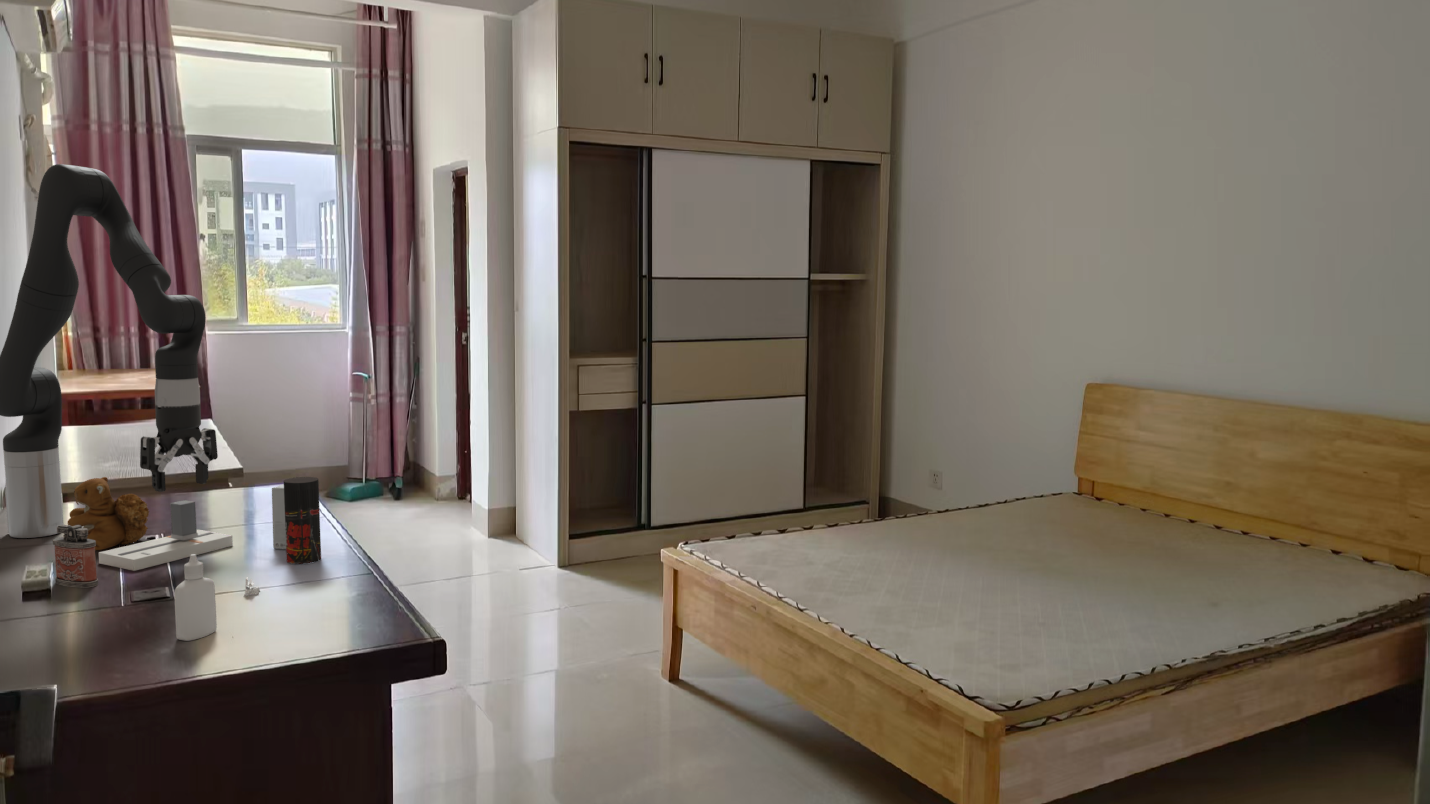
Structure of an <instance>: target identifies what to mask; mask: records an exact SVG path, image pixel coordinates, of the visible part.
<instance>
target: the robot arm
mask: <svg viewBox="0 0 1430 804" xmlns="http://www.w3.org/2000/svg"><path fill="white" fill-rule="evenodd" d="M39 185H40V186H39V190H38V197H37V205H36V211H35V219H34V227H33V231H32V232H33V234H32V239H31V243H30V247H29V248H30V249H29V252H28V257H27V261H26V265H25V268H24V272H23V274H22V278H21V281H20V285H19V290H18V292H17V296H16V297H17V298H16V301H15V302H16V303H15V308H14V312H13V314H12V318H11V320H10V321H11V322H10V325H9V329H8V333H7V335H6V339H5V341H4V345H3V347H2V350H1V351H0V416H1V417H4V418H5V417H7V418H15V417H22V420H21V422H20V423H19V425H18V426H17V427H16V428H14V430H12V431H10V432H9V433H7V434H5V435H4V437H3V438H2V450H3V461H4V462H3V464H4V475H5V476H4V477H5V478H4V479H5V487H4V493H5V495H4V496H5V509H6V510H5V511H6V523H7V524H6V525H7V533H8V534H9V535H8V536H9V537H10V538H16V539H17V538H18V539H27V538H28V539H30V538H32V539H33V538H41V537H49V536H52V535H56V534H58V533H57V527H58V525H65V524H64V510H63V496H62V495H63V494H62V478H61V466H60V465H61V463H60V462H61V461H60V448H59V439H60V436H61V434H62V429H63V427H62V425H63V424H62V423H63V421H62V420H63V418H62V416H63V415H62V411H63V408H62V407H63V406H62V402H63V401H62V388H61V385H60V382H59V379H58V378H57V376H56V374H55V372H54V371H52V370H50V369H49V368H46V367H35V366H36V363H37V360H38V358H39V356H40V354H41V353H42V351H43V350H44V349H45V348H46V346H47V345H48V344H49V343H50V341H52V339H53V338H55V336H56V335H57V334H58V333H59V332H60V330H62V328H63V327H64V326H65V325H66V323H67V322H68V320H69V319H70V317H71V315H72V313H73V310H74V306H75V302H76V299H77V296H78V292H79V285H80V282H79V275H78V271H77V269H76V266H75V263H74V261H73V258H72V256H71V254H70V253H71V252H70V250H69V247H68V236H69V231H70V230H69V229H70V225H71V222H72V219H73V216H79V217H90V218H91V217H92V218H93V219H94V220H95V221H97V222H98V224H99V225H100V226H101V227H102V228H103V229H104V230H105V232H106V233H107V235H108V240H109V256H110V260H111V263H112V266H113V268H114V269H115V271H116V272H117V273H118V275H119V276H120V278H121V279H122V280H123V282H124V283H125V284H126V285H127V287H128V288H129V290H130V291H131V292H132V295H133V297H134V301H135V303H136V306H137V308H138V309H137V310H138V312H139V315H140V317H141V320H142V322H143V323H144V324H145V325H146V326H147V327H148V328H149V329H150V330H151V331H153V332H154V333H158V334H164V335H165V334H166V335H167V334H172V337H171V340H170V343H168V344H167V345H164V346H161V347H159V348H158V349H157V350H156V351H155V354H154V365H155V366H154V370H155V384H154V385H155V387H154V407H155V408H154V409H155V410H154V411H155V426H156V428H157V435H155V436H141V438H140V447H139V448H140V449H139V450H140V451H139V452H140V453H139V455H140V456H139V458H140V460H139V461H140V462H139V467H140V469H141V470H142V469H143V470H148V471H150V472H151V486H152V489H154V491H156V492H159V493H162V492H163V493H164V492H165V491H166V488H167V487H166V472H165V471H164V470H165V468H166V467H167V465H168V464H169V463H170V462H171V461H172V460H174V459H173V458H178V457H181V456H190V457H192V458H193V460H194V461H195V462H196V464H195V465H194V466H195V468H194V469H195V482H196V484H199V485H205V484H207V482H208V480H209V463H210V462H211V461H213V460H217V459H218V456H219V455H218V454H219V453H218V444H217V433H216V430H215V429H214V428H213V429H212V428H206V427H205V428H202V429H200V426H201V425H202V416H201V415H202V413H201V412H202V411H201V389H200V383H199V369H198V355H199V351H200V348H201V343H202V341H203V336H204V331H205V326H206V319H207V317H206V316H207V315H206V311H205V307H204V304H203V303H202V302H201V300H200V299H199V298H198V297H196V296H194V295H192V294H191V295H190V294H166V292H167V291H168V290H169V288H170V287H171V284H172V279H171V276H170V274H169V272H168V271H167V269H166V268H165V267H164V265H163V264H162V263H161V262H160V261H159V259H158V257H156V255H155V254H154V253H153V251H152V250H151V248H150V247H149V246H148V245H147V243H146V242H145V240H144V238H143V236H142V235H141V233H140V231H139V230H138V228H137V226H136V224H135V222H134V220H133V218H132V216H131V214H130V211H128V209H127V207H126V205H125V203H124V201H123V199H122V197H121V195H120V193H119V191H118V189H117V187H116V186H115V184H114V183H113V181H112V179H111V178H110V177H109V176H108V175H107V174H106V173H105V172H103V171H101V170H99V169H96V168H92V167H86V166H80V165H79V166H78V165H72V164H63V163H57V164H54V165H51V166H50V167H48V169H47V170H46V172H45V173H44V174H43V176H42V178H41V182H40V184H39ZM201 440H202V447H201V445H200V444H199V443H200V441H201ZM158 446H159V447H158ZM156 448H158V449H157V450H156Z"/></svg>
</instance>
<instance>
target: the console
mask: <svg viewBox="0 0 1430 804" xmlns="http://www.w3.org/2000/svg"><path fill="white" fill-rule="evenodd" d="M197 533H198V537H196V538H192V539H188V540H178V539H173V538H171V535H167V536H163V537H159V538H156V539H155V538H154V539H151V540H147V541H142V542H138V543H133V544H128V545H126V546H125V545H124V546H121V547H116V548H112V549H109V550H107V549H106V550H103V551H99V552H98V563H99V564H101V565H105V566H109V567H110V566H111V567H113V568H121V569H124V570H128V571H133V572H135V571H139V570H143V569H146V568H151V567H154V566H159V565H162V564H167V563H170V562H174V561H178V560H181V559H186V558H190V555H191V554H196V556H198V555H201V554H205V553H208V552H213V551H217V550H221V549H225V548H230V547H233V546H234V543H233V541H234V540H233V535H230V534H225V533H220V532H215V531H209V530H204V529H203V530H202V529H197Z"/></svg>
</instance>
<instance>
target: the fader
mask: <svg viewBox="0 0 1430 804" xmlns="http://www.w3.org/2000/svg"><path fill="white" fill-rule="evenodd" d="M169 507H170V521H171V522H170V523H171V534H170V536H171V538H173V539H178V540H188V539H192V538H196V537H198V533H197V530H198V529H197V513H196V512H197V511H196V508H197V507H196V501H192V500H185V499H184V500H178V501H174V502H170V503H169Z"/></svg>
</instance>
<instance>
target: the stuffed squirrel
mask: <svg viewBox="0 0 1430 804" xmlns="http://www.w3.org/2000/svg"><path fill="white" fill-rule="evenodd" d="M108 482H109V479H108V477H107V476H103V477H101V478H97V477H94V478H90V479H86V480H85V481H83V482H81V483H80V484H78V485H77V486H76V487H75V488H74V491H73V493H74V494H73V496H74V499H75V503H76V504H77V506H79V505H80V504H81V505H83V506H85V507H76V508H73V509H72V510H70V512H69V517H70V518H69V519H68V520H67V524H66V525H70V526H75V525H81V526H82V528H87V529H88V537H87V539H91V540H95V541H96V546H95V552H96V551H102V550H103V551H104V550H107V549H110V548H113V547H115V546H117V545H126V544H127V545H130V544H129V543H133V542H135V543H136V542H137V540H138V541H139V540H140V539H142V538H143V537H144V536H145V535H146V534H147V530H148V529H149V528H148V526H146V524H147V522H148V519H149V518H148V517H149V516H150V515H149V513H150V511H149V508H148V504H147V503H146V502H145V501H144V500H143V499H141V497H140V496H139V495H137V494H134V493H126V494H124V493H123V494H121V495H120V496H118V497H117V498H116V499H115V500H114V498H113V497H112V495H111V490H110V485H109V484H108ZM133 544H134V543H133Z"/></svg>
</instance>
